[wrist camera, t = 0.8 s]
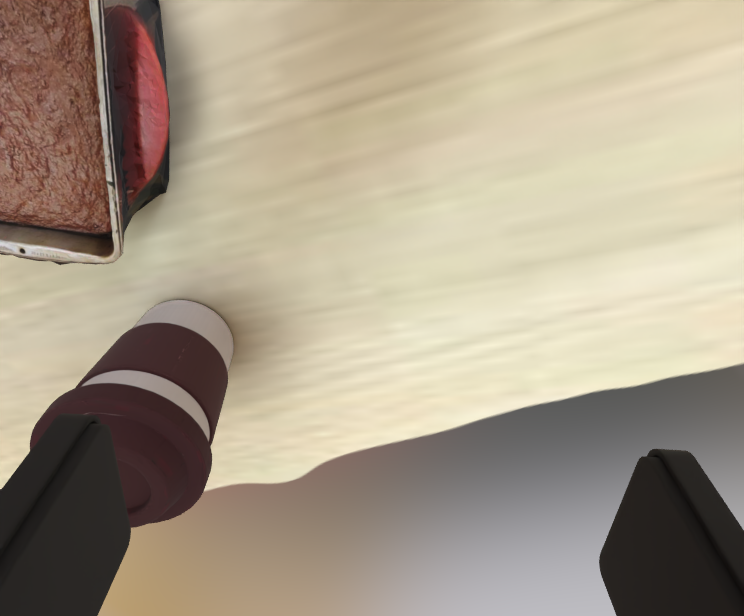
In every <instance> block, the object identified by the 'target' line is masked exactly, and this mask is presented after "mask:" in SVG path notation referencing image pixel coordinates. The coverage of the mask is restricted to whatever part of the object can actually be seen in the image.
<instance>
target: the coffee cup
mask: <svg viewBox="0 0 744 616" xmlns="http://www.w3.org/2000/svg"><path fill="white" fill-rule="evenodd" d="M233 351H234V344H233V337H232V334H231V331H230V329H229V327H228V326H227V324H226V323H225V321H224V320H223V319H222V318H221V317H220V316H219V315H218V314H217V313H215V312H214V311H212V310H211V309H209V308H208V307H206V306H204V305H201V304H199V303H196V302H192V301H187V300H172V301H166V302H163V303H160V304H158V305H156V306H154V307H153V308H151V309H150V310H148V311H147V312H146V313H145V315H144V316H143V317H142V318H141V319H140V320H139V321H138V322H137V324H136V325H135V326H134V327H133V328H132V329H130V330H129V331H127V332H126V333H125V334H123V335H122V336H121V337H120V338H119V339H118V340H117V341H116V342H115V344H114V345H113V346H112V347H111V348H110V349H109V350H108V351H107V352H106V354H105V355H104V356H103V357H102V358H101V359H100V360H99V361H98V362H97V363H96V365H95V366H94V367H93V368H92V369H91V370H90V371H89V372H88V373H87V375H86V376H85V377H84V378H83V379H82V380H81V381H80V382H79V384H78V385H77V386H76V388H75V389H73V390H71V391H69V392H67V393H65V394H63V395H62V396H60V397H59V398H58V399H56V400H55V401H54V402H53V403H52V404H51V405H50V406H49V408H48V409H47V410H46V412H45V413H44V414H43V415H42V417H41V418H40V419H39V421H38V422H37V423H36V425H35V427H34V429H33V432H32V435H31V440H30V451H31V450H32V448H33V447H34V446H35V444H36V443H37V442H38V440H39V439H40V438H41V436H42V435H43V434H44V432H45V431H46V430H47V428H48V427H49V426H50V424H51V423H52V422H53V420H54V419H55V418H56V417H57V416H58V415H60V414H62V413H68V414H84V415H96V416H98V417H99V419H100V421H101V424H106V425H108V426H109V427H110V430H111V435H112V440H113V445H114V450H115V455H116V459H117V464H118V469H119V474H120V479H121V484H122V488H123V493H124V498H125V503H126V508H127V513H128V518H129V522H130V528H131V527H138V526H142V525H145V524H148V523H157V522H161V521H165V520H169V519H171V518H174V517H176V516H178V515H181V514H182V513H184V512H185V511H187V510H188V509H190V508H191V507H192V506H193V505H194V504H195V503H196V502H197V500H199V498H200V497H201V495H202V493H203V491H204V488H205V486H206V483H207V480H208V477H209V474H210V471H211V466H212V453H211V448H210V446H211V444H212V441H213V438H214V434H215V430H216V427H217V423H218V419H219V415H220V412H221V408H222V404H223V400H224V397H225V393H226V389H227V384H228V371H229V367H230V363H231V360H232V356H233Z"/></svg>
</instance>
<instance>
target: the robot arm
mask: <svg viewBox="0 0 744 616" xmlns="http://www.w3.org/2000/svg"><path fill="white" fill-rule="evenodd" d="M130 533H131V528H130V522H129V518H128V513H127V508H126V503H125V498H124V493H123V488H122V484H121V479H120V474H119V469H118V464H117V459H116V455H115V450H114V445H113V440H112V435H111V430H110V427H109V426H108V425H106V424H101V421H100V419H99V417H98V416H96V415H84V414H68V413H62V414H60V415H58V416H57V417H56V418H55V419H54V420H53V422H52V423H51V424H50V426H49V427H48V428H47V430H46V431H45V432H44V434H43V435H42V436H41V438H40V439H39V440H38V442H37V443H36V444H35V446H34V447H33V448H32V450H31V451H30V452H29V454H28V455H27V456H26V458H25V459H24V460H23V462H22V463H21V464H20V466H19V467H18V468H17V470H16V471H15V472H14V474H13V475H12V476H11V478H10V479H9V480H8V482H7V483H6V484H5V486H4V487H3V488H2V489H0V616H97V615H98V613H99V611H100V609H101V606H102V604H103V602H104V600H105V597H106V595H107V593H108V591H109V589H110V586H111V584H112V582H113V580H114V577H115V575H116V573H117V571H118V569H119V566H120V564H121V562H122V560H123V557H124V555H125V553H126V550H127V548H128V545H129V541H130ZM599 564H600V571H601V575H602V578H603V581H604V583H605V586H606V589H607V591H608V594H609V597H610V599H611V602H612V605H613V607H614V610H615V612H616V615H617V616H744V530H743V529H742V527H741V526H740V524H739V523H738V521H737V520H736V518H735V517H734V515H733V514H732V512H731V511H730V510H729V508H728V506H727V505H726V503H725V502H724V501H723V499H722V498H721V496H720V495H719V493H718V492H717V490H716V489H715V487H714V486H713V484H712V483H711V481H710V480H709V478H708V477H707V475H706V474H705V473H704V471H703V469H702V468H701V466H700V465H699V464H698V462H697V460H696V459H695V457H694V456H693V455H692V454H691V453H689V452H688V451H681V450H665V449H652V450H651V451H650V452H649V453H648V455H647V457H641V458H640V459H639V461H638V462H637V465H636V467H635V470H634V472H633V475H632V477H631V480H630V482H629V485H628V487H627V490H626V492H625V494H624V497H623V500H622V502H621V504H620V507H619V509H618V512H617V514H616V516H615V519H614V521H613V524H612V527H611V529H610V531H609V534H608V536H607V539H606V541H605V544H604V546H603V548H602V551H601V554H600V560H599Z"/></svg>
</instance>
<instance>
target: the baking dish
mask: <svg viewBox="0 0 744 616" xmlns="http://www.w3.org/2000/svg"><path fill="white" fill-rule="evenodd" d="M169 119H170V111H169V99H168V93H167V81H166V62H165V52H164V42H163V32H162V22H161V12H160V5H159V0H0V254H3V255H14V256H17V257H20V258H26V259H31V260H37V261H52V262H55V263H57V264H59V265H61V264H68V263H84V264H108V263H113V262H115V261H116V260H117V259H118V258H119V257H120V256H121V255H122V254H123V242H124V232H125V230H126V228H127V226H128V224H129V222H130V220H131V218H132V216H133V215H134V214H135V213H136V212H137V211H138V210H140V209H141V208H142V207H144V206H145V205H146V204H148V203H149V202H150V201H152V200H153V199H154V198H156V197H157V196H158V195H160V194H163V193H166V190H167V186H168V182H169Z"/></svg>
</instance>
